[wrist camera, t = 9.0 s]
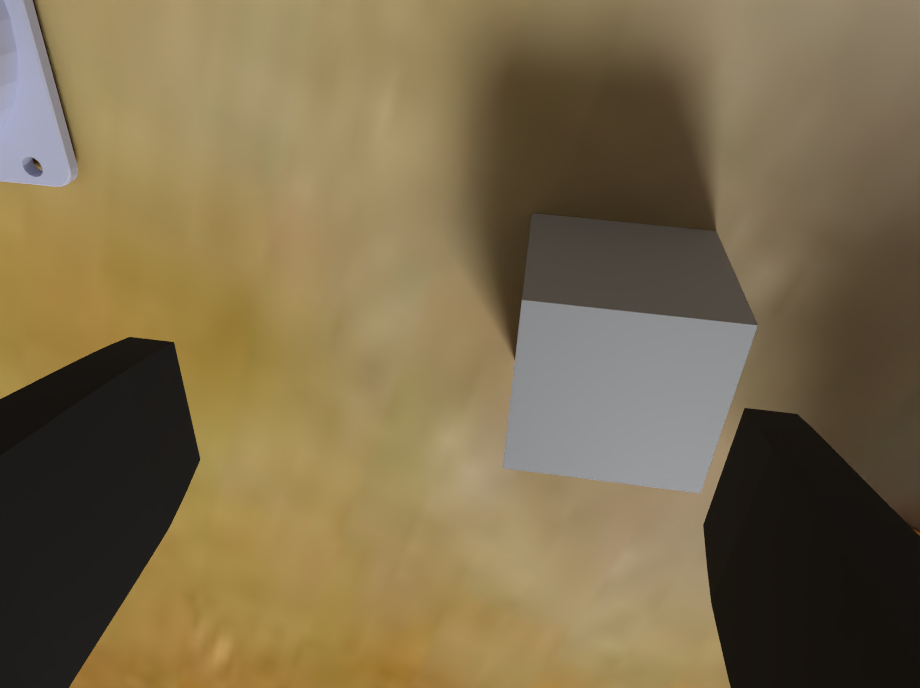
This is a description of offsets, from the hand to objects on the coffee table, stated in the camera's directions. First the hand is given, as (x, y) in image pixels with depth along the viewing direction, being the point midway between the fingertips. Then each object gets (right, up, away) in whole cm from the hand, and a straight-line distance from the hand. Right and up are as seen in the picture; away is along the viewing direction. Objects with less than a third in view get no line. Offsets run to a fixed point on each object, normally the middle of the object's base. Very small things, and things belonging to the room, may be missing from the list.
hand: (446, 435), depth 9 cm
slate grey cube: (+4, +2, +9) cm, 10 cm away
